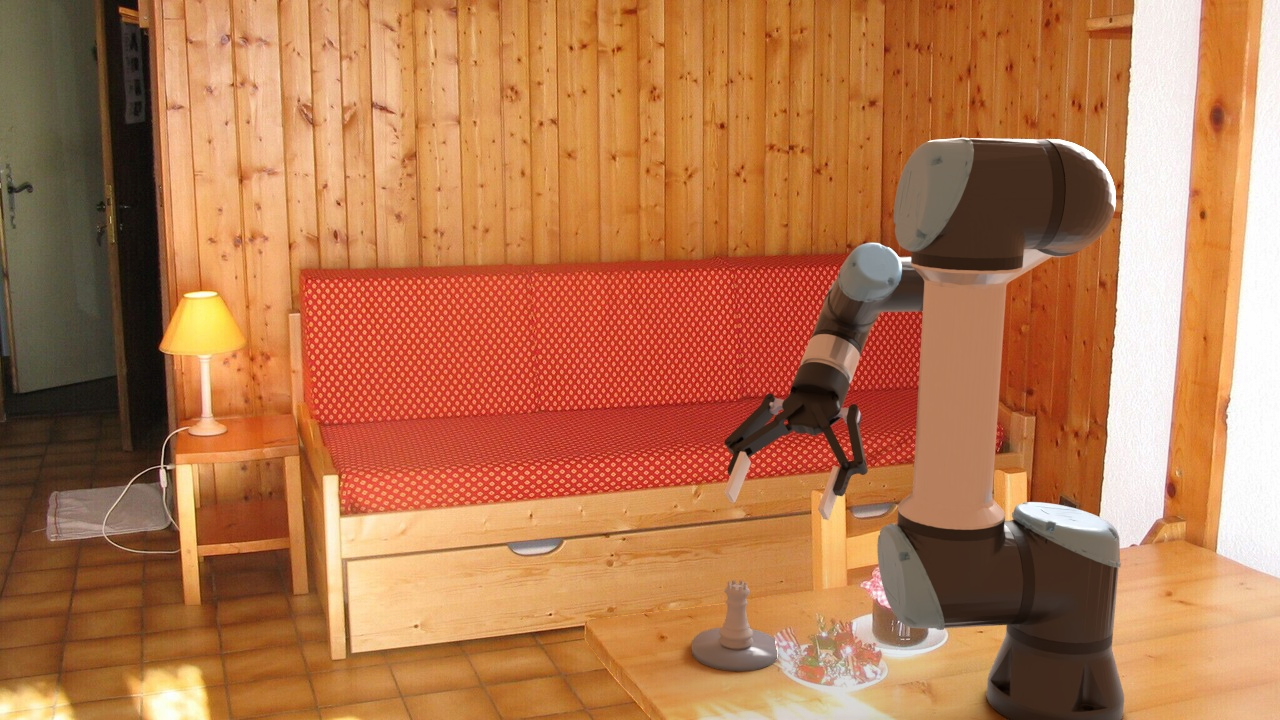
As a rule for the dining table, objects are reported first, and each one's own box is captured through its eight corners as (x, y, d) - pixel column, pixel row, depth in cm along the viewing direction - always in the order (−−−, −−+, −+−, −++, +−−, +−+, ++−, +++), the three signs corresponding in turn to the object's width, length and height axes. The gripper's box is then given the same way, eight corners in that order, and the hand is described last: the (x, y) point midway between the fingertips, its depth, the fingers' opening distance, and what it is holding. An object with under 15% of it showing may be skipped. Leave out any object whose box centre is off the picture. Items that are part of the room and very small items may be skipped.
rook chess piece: (731, 633, 164) (733, 575, 163) (760, 643, 162) (762, 583, 160) (711, 644, 161) (712, 584, 160) (740, 653, 158) (741, 592, 157)
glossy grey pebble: (792, 647, 163) (793, 638, 163) (754, 678, 154) (754, 669, 154) (717, 629, 169) (717, 620, 169) (675, 658, 160) (675, 649, 160)
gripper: (916, 400, 173) (871, 536, 164) (752, 380, 186) (701, 504, 176) (905, 369, 168) (857, 506, 158) (736, 350, 181) (683, 476, 171)
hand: (775, 506), depth 167 cm, fingers open, 13 cm apart
